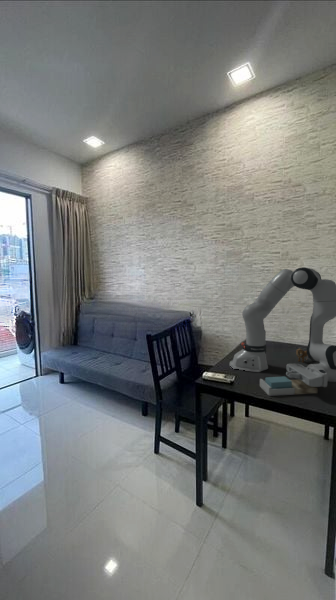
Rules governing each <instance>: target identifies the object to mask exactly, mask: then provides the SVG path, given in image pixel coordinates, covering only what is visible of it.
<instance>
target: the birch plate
mask: <svg viewBox="0 0 336 600" xmlns="http://www.w3.org/2000/svg"><path fill="white" fill-rule="evenodd" d="M290 380H291V381H292V388H295V394H294V395H306V394H307V395H310V394H318V388H319V387H311V386H308V385H307V384H306V383H304V382H303V381H301V380H300V379H290Z"/></svg>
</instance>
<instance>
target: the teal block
mask: <svg viewBox="0 0 336 600" xmlns="http://www.w3.org/2000/svg"><path fill="white" fill-rule="evenodd" d="M291 380H292V379H289V377H287V376H285V375H284V376H283V375H282V376H269V377H267V376H266V377H265V378H264V381H265V382H266V383H267V384H268V385H269V386H270V387H271V389H282V388H292V381H291Z"/></svg>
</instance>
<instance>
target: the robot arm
mask: <svg viewBox="0 0 336 600" xmlns="http://www.w3.org/2000/svg"><path fill="white" fill-rule="evenodd" d="M293 287H295V288H298V289H302V290H308V291H310V292H311V294H312V304H313V307H312V313H311V316H310V319H309V320H310V321H309V322H310V323H309V333H308V335H309V336H308V338H309V339H308V343H307V347H306V351H307V355H308V357H309V358H308V359H309V360H311V361H313V362H316V363H310V364H307V366H305V365H303V364H301V363H287V364H286V368H285V369H286V372H285V375H286V377H287V378H290V379H296V380H299V379H300V380H301V381H303V382H304V383H306V384H307V385H308V386H311V387H317V388H320V387H322V388H327V387H328V382H330V383H335V382H336V344H335V345H334V344H328V343H324V342H323V338H324V326H325V325H326V324H327V323H328V322H330V321H331V320H333V319H334V318H336V282H335V281H334V280H332V279H328V278H327V279H322V276H321V274H320V273H319V271H317V270H315V269H313V268H310V267H304V266H303V267H302V266H301V267H298V268H296V269H294V271H293V270H291V269H288V268H284V269H281V270H280V271H279V272H278V273H276V275H274V277H272V279H270V281H268V283H267V284H266V285H265V286H264V288H263V289H262V290H261V291H260V293H259V295H258V297H257V298H256V299H255V301H254V302H253V303H251V304H248V305H246V306H245V307H244V308H243V310H242V312H241V313H242V318H243V320H244V324H245V325H244V326H245V331H246V332H245V333H246V336H245V339H246V340H245V342H241V346H242V349H240V350H239V351H238V352H236V353H234V356H233V359H232V360H231V361H229V367H230V366H231V367H232V368H233V369H232V368H231V367H230V368H231V369H232V370H234V369H239V370H238V371H243V370H245V371H247V372H252V373H261V372H263V371H266V370H268V369H269V366H268V362H267V344H266V334H267V333H266V332H267V331H266V329H265V324H264V323H265V322H264V319H266V318H267V317H268V315H269V314H270V313H271V312H272V311H273V310H274V308H275V307H276V305H277V304H279V302H280V301H281V300H282V299H283V297H285V296H286V295H287V293H289V291H291V289H292V288H293ZM245 371H244V372H245Z"/></svg>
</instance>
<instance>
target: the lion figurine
mask: <svg viewBox="0 0 336 600" xmlns="http://www.w3.org/2000/svg"><path fill="white" fill-rule="evenodd" d="M295 353H296V357H297V358H298V360H297V362H301V363H305V360H306V361H307V360H308V359H310V358H309V357H308V355H307V350H304V349H302V348H298V349H296V351H295Z"/></svg>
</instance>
